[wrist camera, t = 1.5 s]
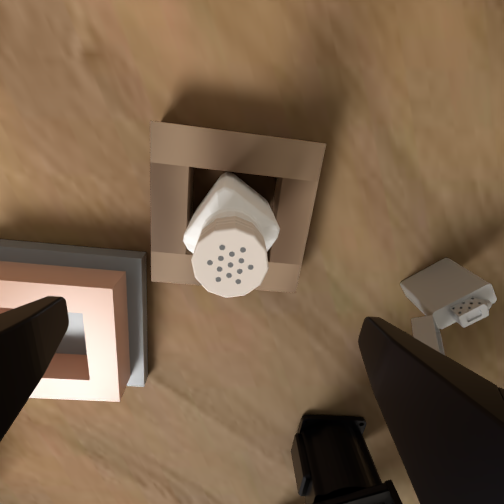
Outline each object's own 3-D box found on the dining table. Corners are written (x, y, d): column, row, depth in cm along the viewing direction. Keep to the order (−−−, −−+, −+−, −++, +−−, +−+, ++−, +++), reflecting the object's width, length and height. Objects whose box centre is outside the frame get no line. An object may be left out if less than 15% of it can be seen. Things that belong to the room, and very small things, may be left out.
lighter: (447, 256, 23) (545, 315, 16) (454, 272, 24) (551, 337, 17) (366, 300, 25) (422, 375, 17) (374, 315, 25) (432, 393, 18)
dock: (146, 252, 22) (129, 275, 18) (147, 375, 26) (134, 412, 23) (-30, 236, 21) (-82, 257, 17) (3, 368, 25) (-33, 406, 22)
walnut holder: (315, 141, 20) (326, 143, 17) (289, 276, 23) (295, 293, 21) (160, 121, 19) (149, 120, 16) (159, 265, 22) (151, 281, 20)
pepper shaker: (226, 166, 20) (219, 197, 11) (272, 202, 21) (298, 256, 12) (192, 212, 21) (162, 273, 12) (237, 244, 22) (239, 321, 13)
